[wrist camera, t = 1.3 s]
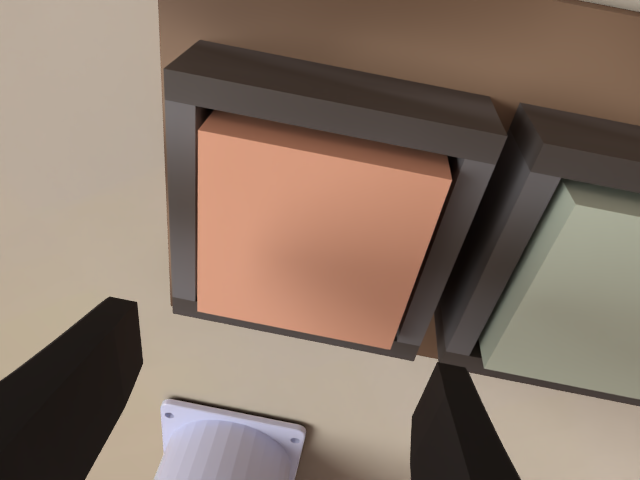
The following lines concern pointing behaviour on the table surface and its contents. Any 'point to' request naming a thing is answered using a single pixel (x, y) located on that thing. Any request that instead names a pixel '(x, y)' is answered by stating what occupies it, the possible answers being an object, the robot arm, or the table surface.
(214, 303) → the terracotta key
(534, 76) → the key board
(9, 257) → the table surface
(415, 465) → the robot arm
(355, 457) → the table surface
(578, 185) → the sage key
